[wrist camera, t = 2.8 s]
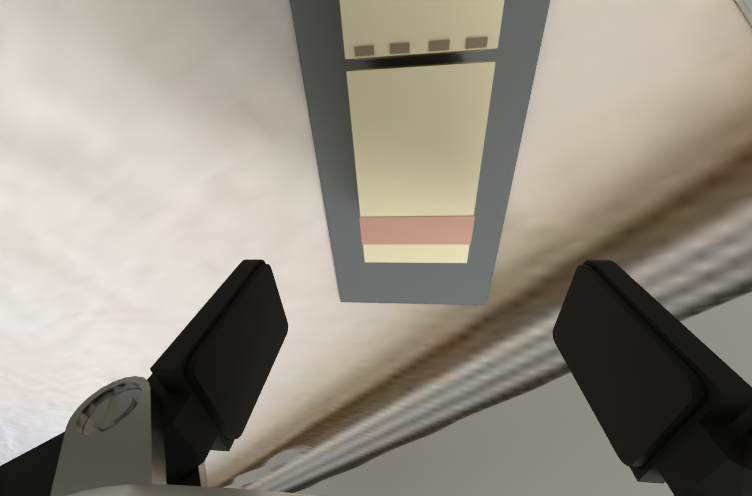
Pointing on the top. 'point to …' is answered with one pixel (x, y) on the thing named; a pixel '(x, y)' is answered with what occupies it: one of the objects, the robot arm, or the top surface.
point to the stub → (419, 157)
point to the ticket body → (418, 27)
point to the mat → (337, 161)
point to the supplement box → (746, 9)
